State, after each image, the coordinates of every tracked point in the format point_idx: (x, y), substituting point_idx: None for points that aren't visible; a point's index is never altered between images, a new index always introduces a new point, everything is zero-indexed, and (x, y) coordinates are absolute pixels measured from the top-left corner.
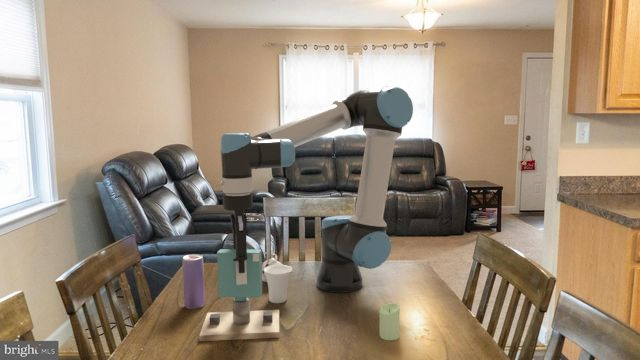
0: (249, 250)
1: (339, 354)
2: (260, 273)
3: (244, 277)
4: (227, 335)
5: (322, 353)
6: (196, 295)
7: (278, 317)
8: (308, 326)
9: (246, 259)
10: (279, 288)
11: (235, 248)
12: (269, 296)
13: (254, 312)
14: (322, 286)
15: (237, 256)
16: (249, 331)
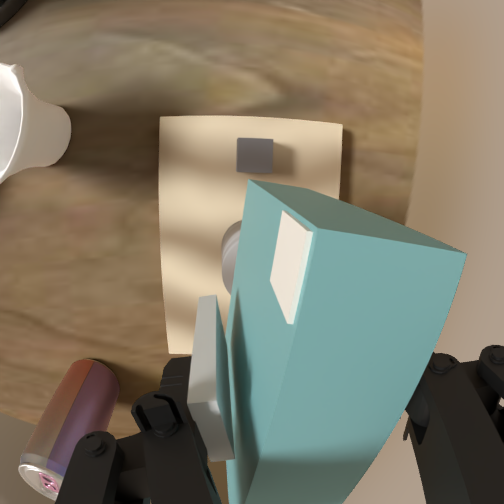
0: (333, 387)
1: (422, 15)
2: (327, 200)
3: None
4: None
5: (419, 44)
6: (106, 398)
7: (230, 118)
8: (270, 34)
9: (499, 348)
10: (46, 120)
11: (216, 493)
12: (46, 163)
13: (175, 206)
14: (8, 11)
15: (498, 416)
16: None
